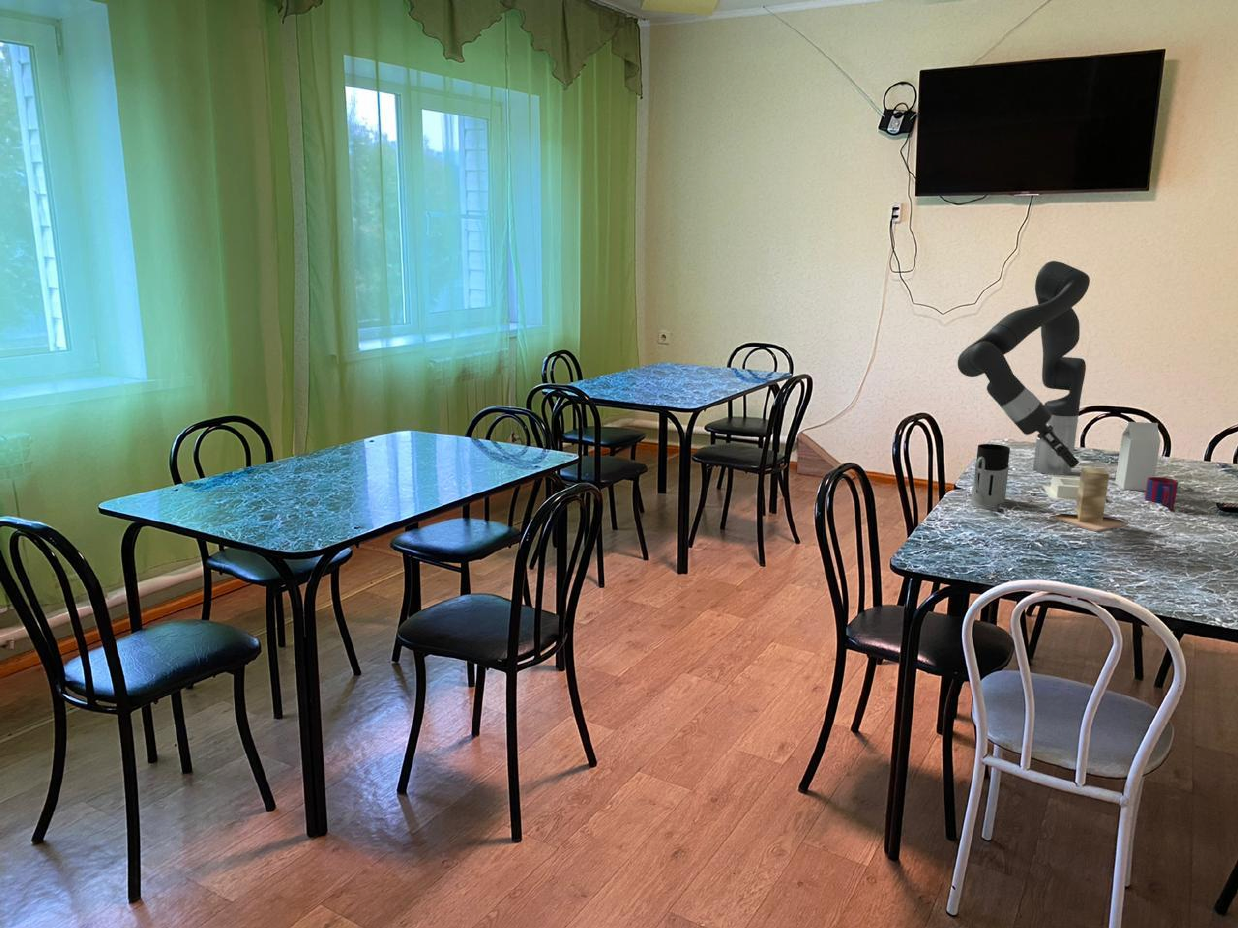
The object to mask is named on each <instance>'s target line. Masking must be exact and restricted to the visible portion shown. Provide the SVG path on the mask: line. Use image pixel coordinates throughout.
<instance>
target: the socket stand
mask: <svg viewBox="0 0 1238 928" xmlns="http://www.w3.org/2000/svg"><path fill="white" fill-rule="evenodd" d="M1079 482H1080V478H1076V477H1075V478H1074V477H1062V476H1060V477H1059V476H1051V481H1050V485H1043V484H1042V487H1043V489H1044V490H1045V492H1046V493H1047V495H1048V497H1049V498H1050V499H1052V500H1053V499H1054V500H1065V501H1076V502H1077V497H1078V490H1079ZM1105 504H1107V501H1105Z"/></svg>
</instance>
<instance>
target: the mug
mask: <svg viewBox="0 0 1238 928" xmlns="http://www.w3.org/2000/svg"><path fill="white" fill-rule="evenodd" d="M1178 487H1179V481H1178V480H1176V479H1172V478H1169V477H1162V476H1155V477H1149V478H1148V481H1147V487H1146V491H1145V495H1144V500H1145V501H1147V502H1150V503H1155V504H1158V505H1161V506H1162V507H1165V508H1167V509H1168V510H1173V509H1174V508H1175V505H1176V501H1177V499H1176V498H1177V494H1178V492H1177V491H1178Z"/></svg>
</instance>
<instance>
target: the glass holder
mask: <svg viewBox="0 0 1238 928" xmlns="http://www.w3.org/2000/svg"><path fill="white" fill-rule="evenodd" d="M976 449H977V451H976V458H975V459H976V460H975V463H974V471H973V472H974V473H973V481H972V488H971V492H972V493H971V498H970V501H969V503H968V504H969V505H970V506H971V505H972V506H971V507H973V508H976V509H977V508H978V509H981V510H988V511H989V510H991V511H999V510H1000V511H1001V510H1002V508H1001V507H1000V505H999V504H1003V503H1005V502H1006V494H1007V486H1008V485H1007V483H1008V475H1009V469H1010V467H1009V461H1010V453H1011V448H1010V447H1009V446H1006V445H1001V444H995V443H980V444H978V445H977V448H976Z"/></svg>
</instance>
